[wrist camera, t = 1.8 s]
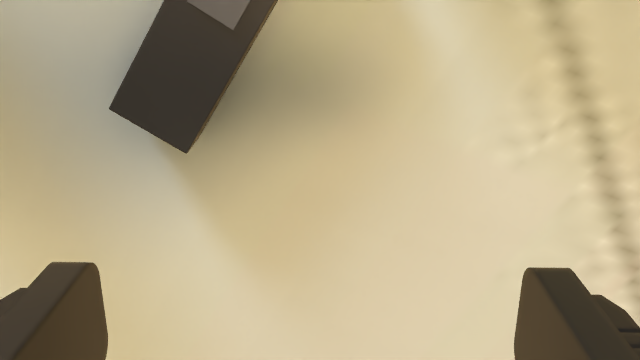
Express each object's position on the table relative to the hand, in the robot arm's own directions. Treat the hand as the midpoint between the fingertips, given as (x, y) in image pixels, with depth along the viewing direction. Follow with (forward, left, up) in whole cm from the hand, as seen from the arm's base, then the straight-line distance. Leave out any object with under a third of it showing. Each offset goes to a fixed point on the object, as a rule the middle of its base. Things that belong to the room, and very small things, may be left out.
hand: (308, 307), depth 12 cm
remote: (-7, +1, -24) cm, 25 cm away
